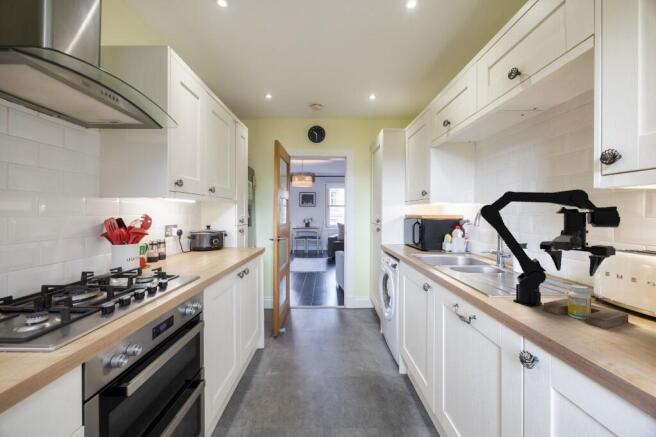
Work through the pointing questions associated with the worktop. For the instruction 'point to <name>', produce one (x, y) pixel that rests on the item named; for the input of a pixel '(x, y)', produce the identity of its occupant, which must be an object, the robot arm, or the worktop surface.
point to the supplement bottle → (579, 302)
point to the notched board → (597, 317)
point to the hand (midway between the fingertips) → (574, 273)
